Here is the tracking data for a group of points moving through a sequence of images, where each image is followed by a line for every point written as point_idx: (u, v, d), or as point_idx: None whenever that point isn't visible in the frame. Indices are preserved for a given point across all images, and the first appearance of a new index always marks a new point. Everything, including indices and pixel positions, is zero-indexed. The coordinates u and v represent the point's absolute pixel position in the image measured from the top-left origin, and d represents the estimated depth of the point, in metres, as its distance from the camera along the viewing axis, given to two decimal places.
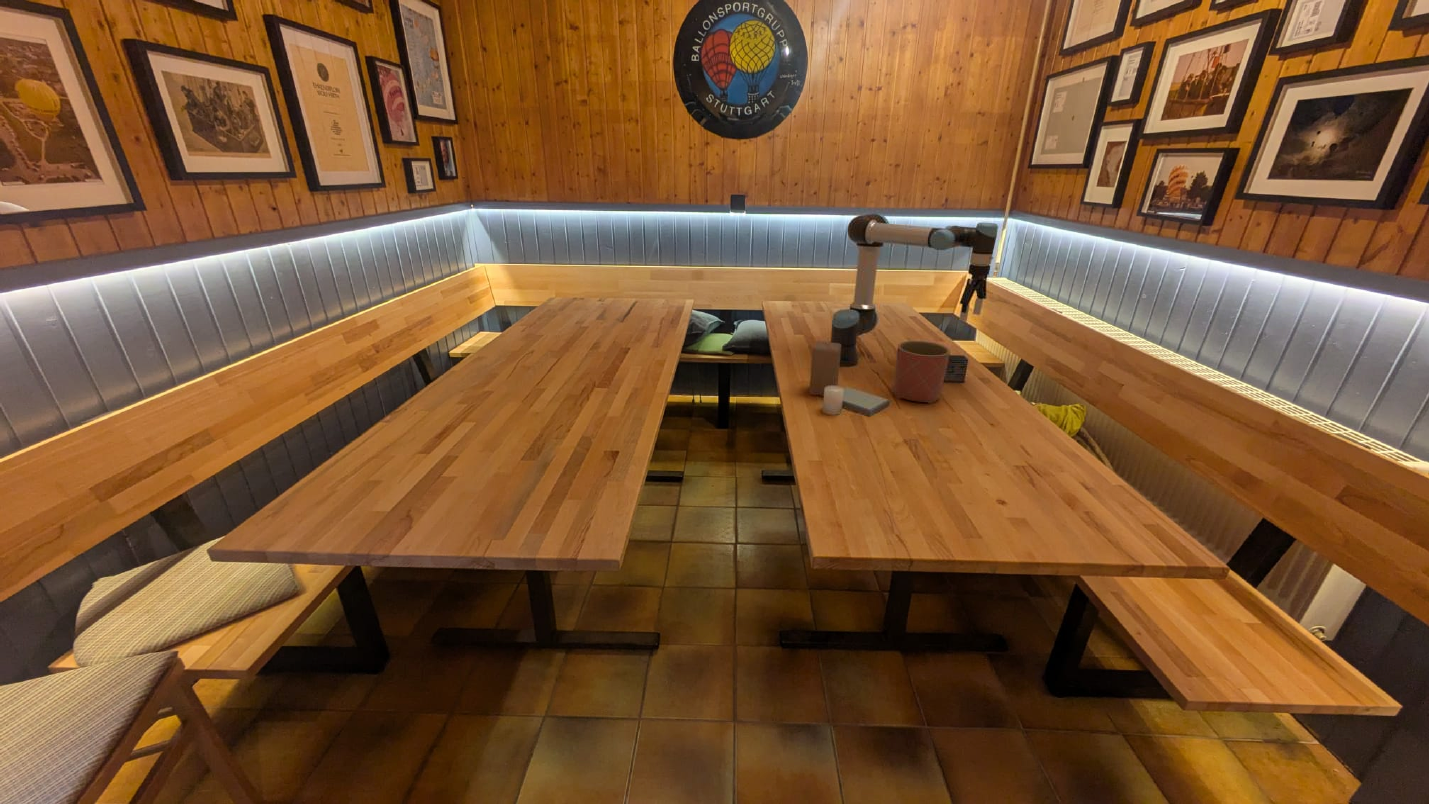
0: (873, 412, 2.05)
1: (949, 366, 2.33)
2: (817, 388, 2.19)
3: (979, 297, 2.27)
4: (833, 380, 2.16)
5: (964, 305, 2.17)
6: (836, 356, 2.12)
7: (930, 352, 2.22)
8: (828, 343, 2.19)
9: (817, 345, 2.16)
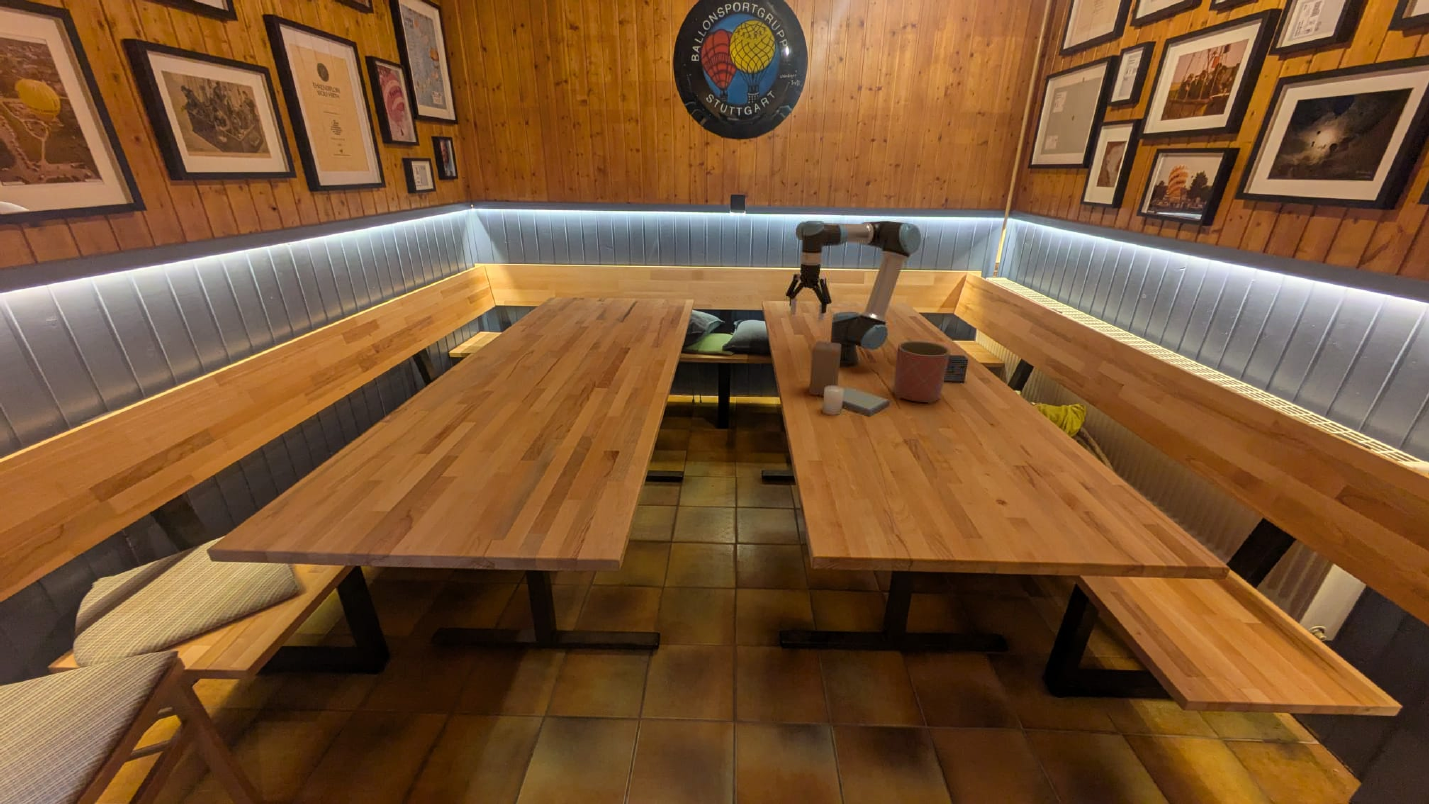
0: (873, 412, 2.05)
1: (949, 366, 2.33)
2: (817, 388, 2.19)
3: None
4: (833, 380, 2.16)
5: None
6: (836, 356, 2.12)
7: (930, 352, 2.22)
8: (828, 343, 2.19)
9: (817, 345, 2.16)
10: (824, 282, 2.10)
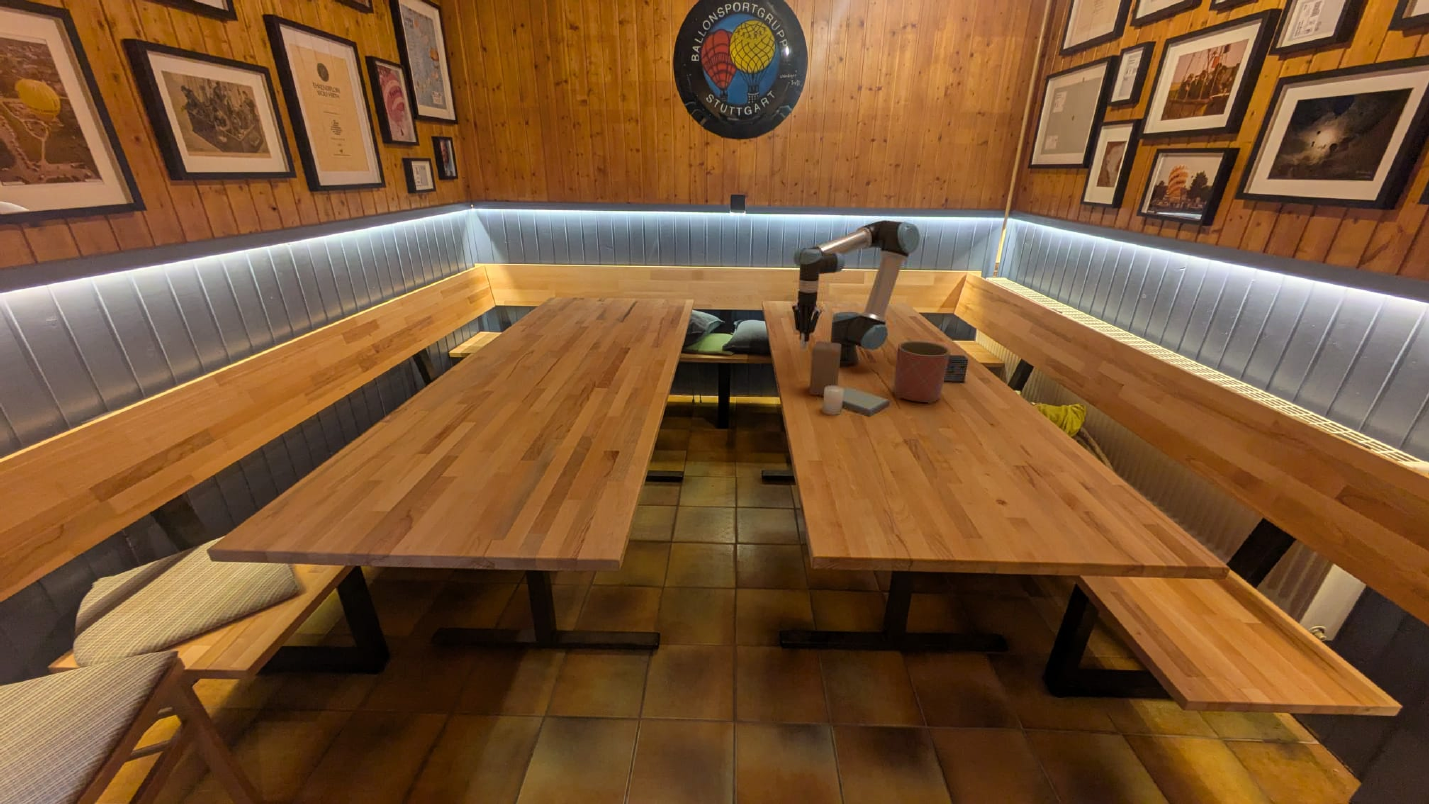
0: (873, 412, 2.05)
1: (949, 366, 2.33)
2: (817, 388, 2.19)
3: None
4: (833, 380, 2.16)
5: None
6: (836, 356, 2.12)
7: (930, 352, 2.22)
8: (828, 343, 2.19)
9: (817, 345, 2.16)
10: (818, 314, 2.16)
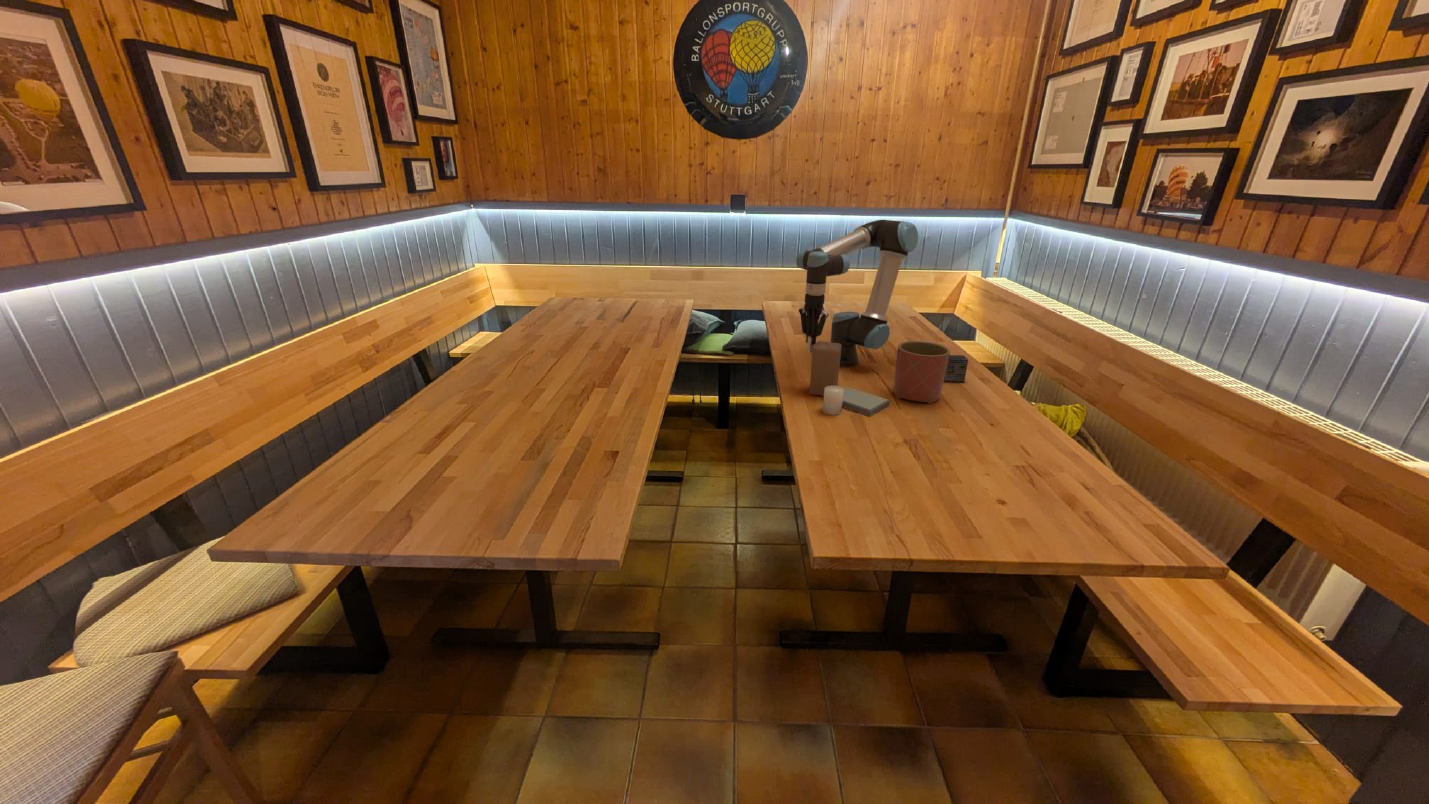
0: (873, 412, 2.05)
1: (949, 366, 2.33)
2: (817, 388, 2.19)
3: None
4: (833, 380, 2.16)
5: None
6: (836, 356, 2.12)
7: (930, 352, 2.22)
8: (828, 343, 2.19)
9: (817, 345, 2.16)
10: (825, 318, 2.14)
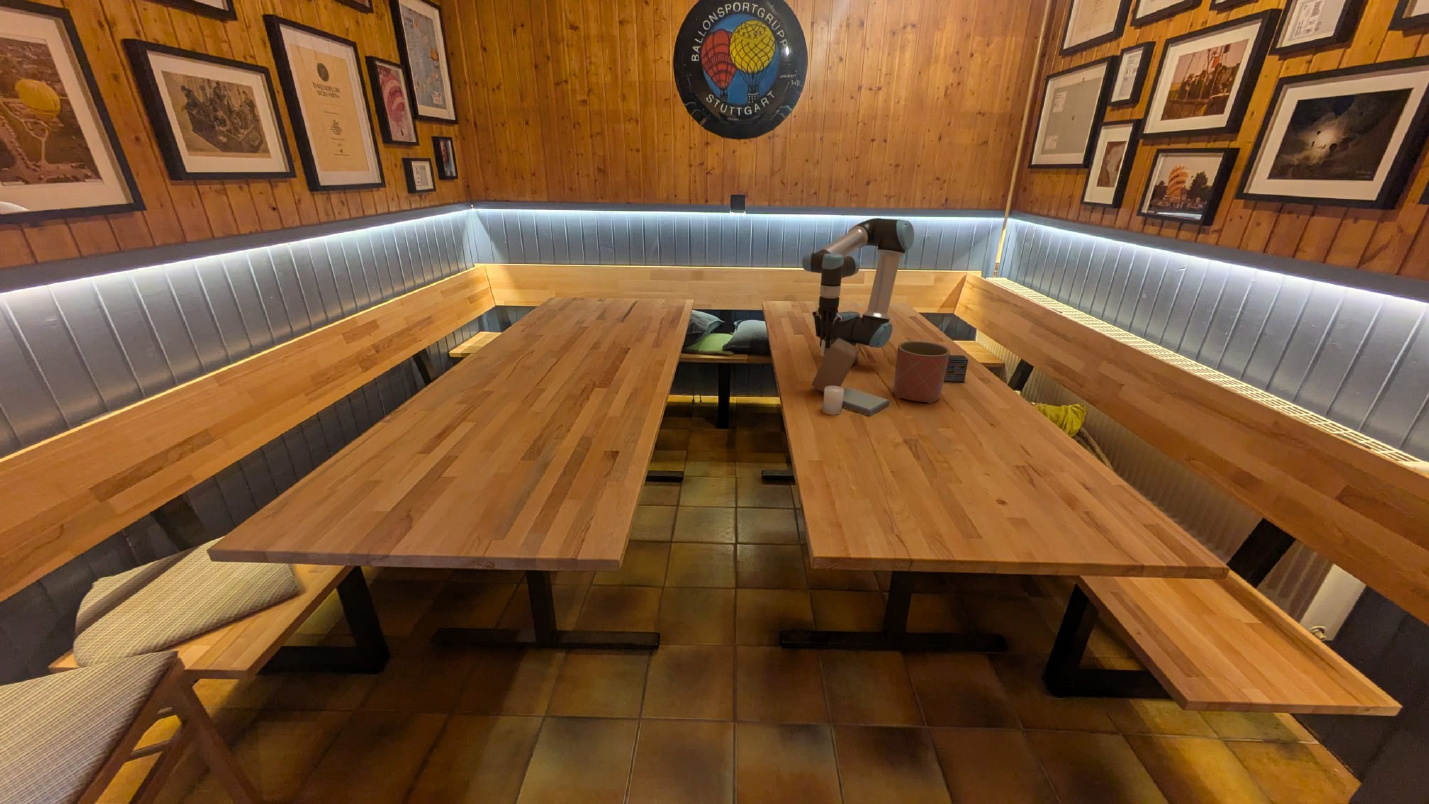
0: (873, 412, 2.05)
1: (949, 366, 2.33)
2: (820, 383, 2.19)
3: None
4: (838, 382, 2.15)
5: None
6: (850, 361, 2.10)
7: (930, 352, 2.22)
8: (848, 344, 2.15)
9: (837, 343, 2.13)
10: (840, 321, 2.09)
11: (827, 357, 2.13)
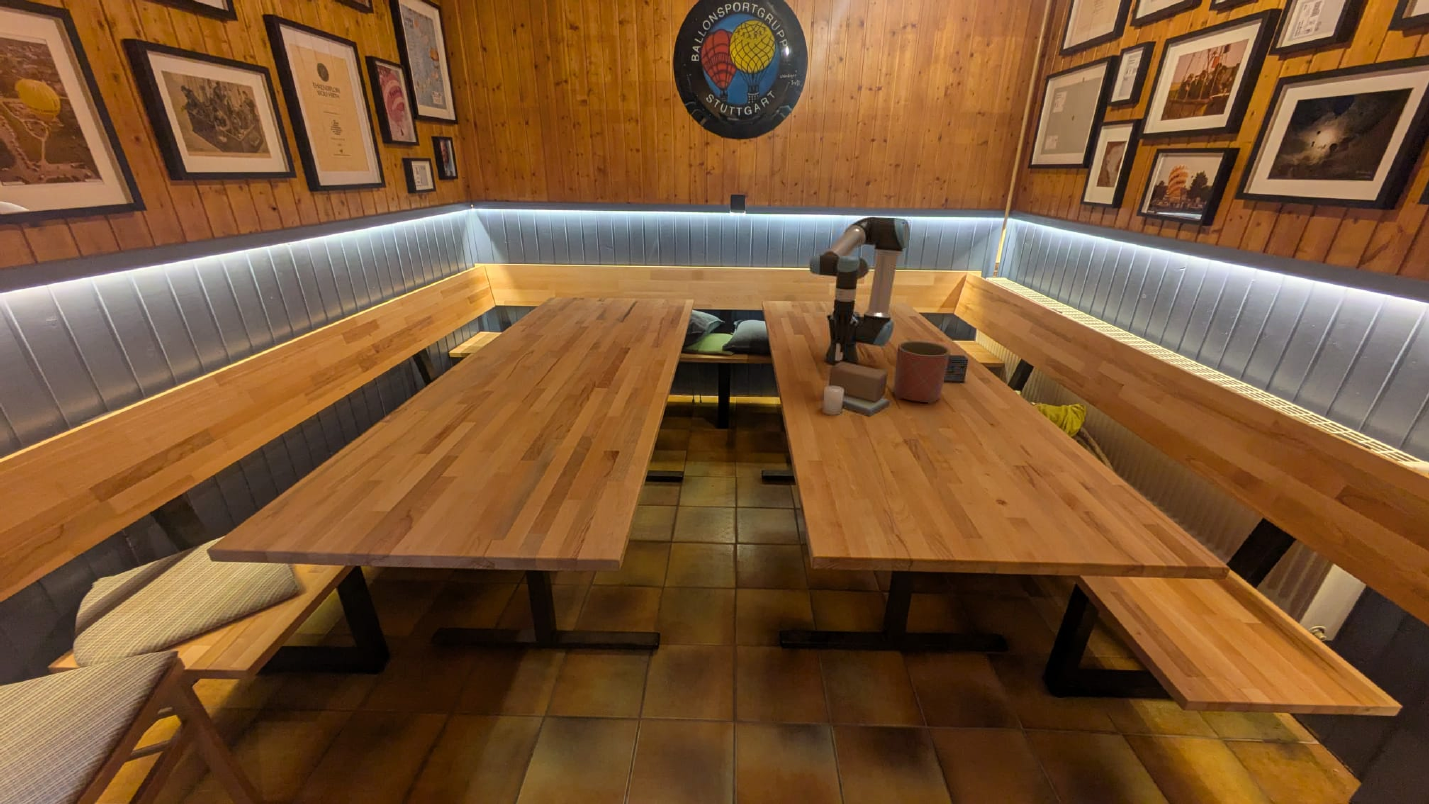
0: (873, 412, 2.05)
1: (949, 366, 2.33)
2: (836, 376, 2.15)
3: None
4: (845, 393, 2.15)
5: None
6: (869, 400, 2.10)
7: (930, 352, 2.22)
8: (884, 385, 2.12)
9: (882, 379, 2.08)
10: (855, 324, 2.05)
11: (864, 377, 2.08)
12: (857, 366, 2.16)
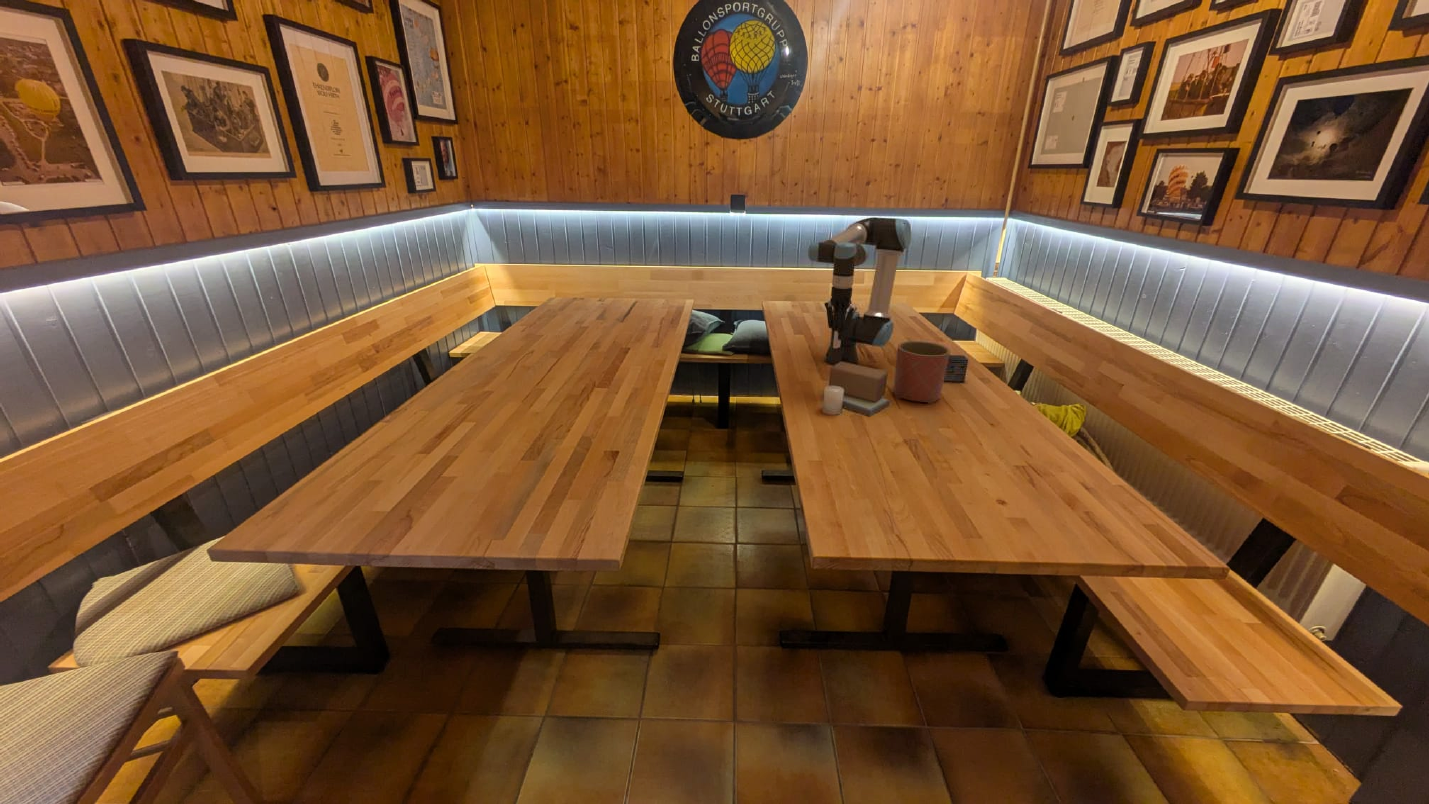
0: (873, 412, 2.05)
1: (949, 366, 2.33)
2: (836, 376, 2.15)
3: None
4: (845, 393, 2.15)
5: None
6: (869, 400, 2.10)
7: (930, 352, 2.22)
8: (884, 385, 2.12)
9: (882, 379, 2.08)
10: (853, 312, 2.05)
11: (864, 377, 2.08)
12: (857, 366, 2.16)
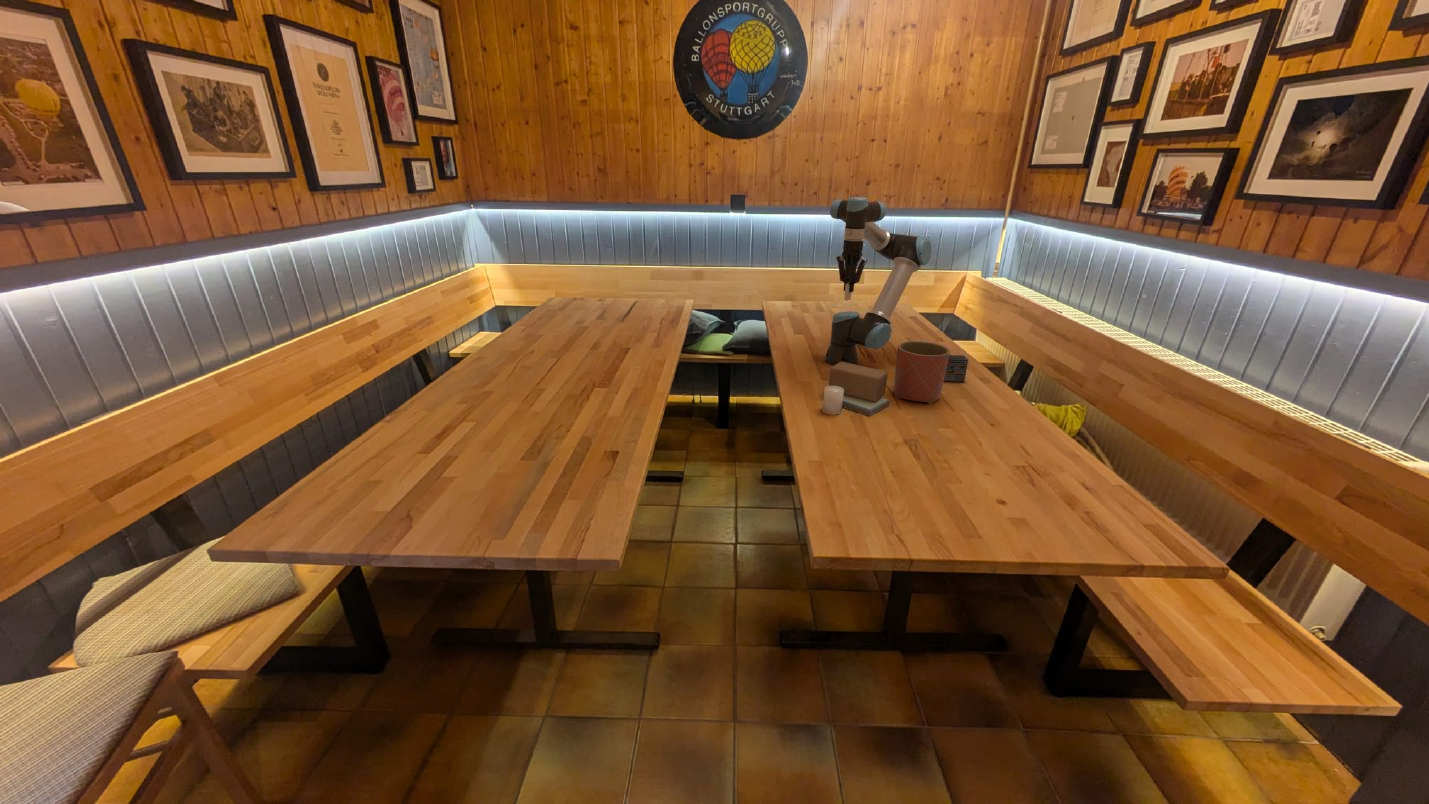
0: (873, 412, 2.05)
1: (949, 366, 2.33)
2: (836, 376, 2.15)
3: None
4: (845, 393, 2.15)
5: None
6: (869, 400, 2.10)
7: (930, 352, 2.22)
8: (884, 385, 2.12)
9: (882, 379, 2.08)
10: (864, 263, 2.16)
11: (864, 377, 2.08)
12: (857, 366, 2.16)
